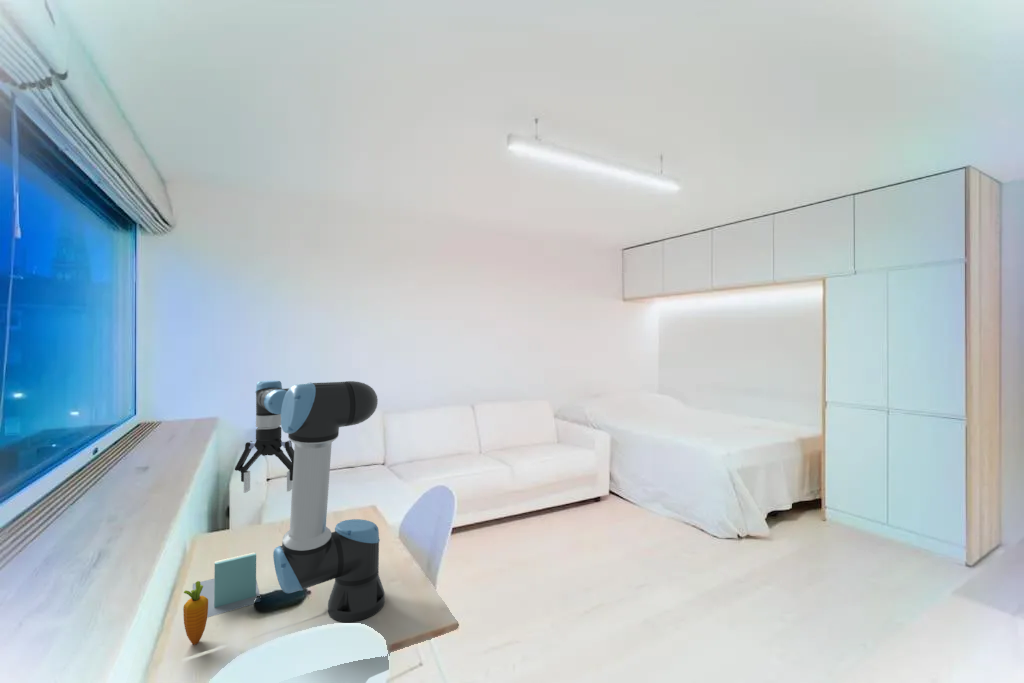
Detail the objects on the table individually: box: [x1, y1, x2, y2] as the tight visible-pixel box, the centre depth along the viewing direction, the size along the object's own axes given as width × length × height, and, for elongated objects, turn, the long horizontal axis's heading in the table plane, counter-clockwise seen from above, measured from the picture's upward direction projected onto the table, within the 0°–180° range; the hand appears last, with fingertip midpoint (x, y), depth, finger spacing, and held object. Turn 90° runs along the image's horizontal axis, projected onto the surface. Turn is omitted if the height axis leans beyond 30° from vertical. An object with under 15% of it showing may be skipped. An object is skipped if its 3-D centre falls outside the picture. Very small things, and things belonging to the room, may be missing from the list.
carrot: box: [182, 580, 208, 646], centre depth 109 cm, size 5×5×15 cm
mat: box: [192, 578, 261, 618], centre depth 130 cm, size 22×16×1 cm
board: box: [213, 551, 257, 608], centre depth 126 cm, size 2×10×12 cm, turn 125°
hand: (268, 490), depth 148 cm, fingers open, 13 cm apart
